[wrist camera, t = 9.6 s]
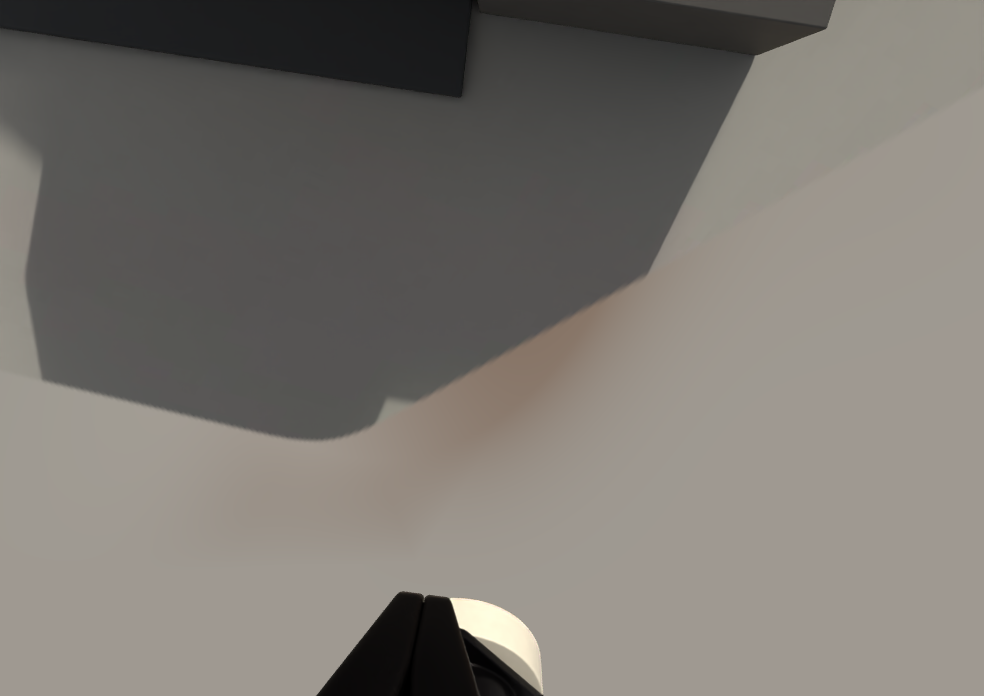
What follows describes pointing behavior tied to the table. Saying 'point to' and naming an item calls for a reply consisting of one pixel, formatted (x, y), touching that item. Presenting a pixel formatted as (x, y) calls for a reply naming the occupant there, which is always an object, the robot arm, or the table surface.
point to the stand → (682, 19)
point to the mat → (277, 34)
